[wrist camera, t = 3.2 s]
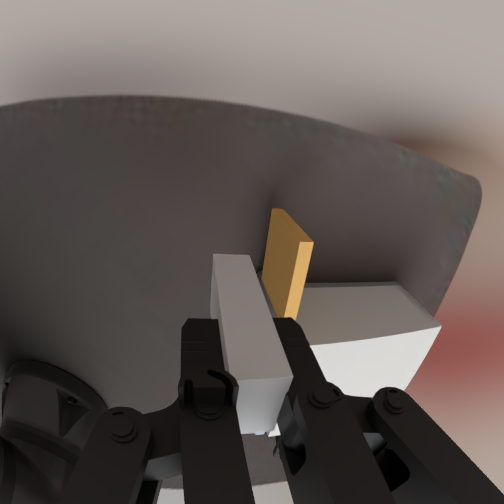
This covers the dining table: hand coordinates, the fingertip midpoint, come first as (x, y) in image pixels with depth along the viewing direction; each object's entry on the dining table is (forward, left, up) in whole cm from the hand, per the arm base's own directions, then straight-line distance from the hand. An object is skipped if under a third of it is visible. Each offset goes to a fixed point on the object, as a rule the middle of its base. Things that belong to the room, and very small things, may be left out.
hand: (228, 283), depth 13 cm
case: (+12, -12, -10) cm, 20 cm away
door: (+4, -8, -10) cm, 14 cm away
